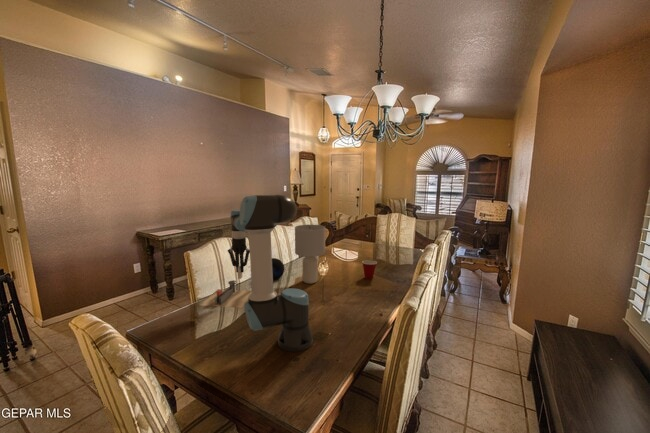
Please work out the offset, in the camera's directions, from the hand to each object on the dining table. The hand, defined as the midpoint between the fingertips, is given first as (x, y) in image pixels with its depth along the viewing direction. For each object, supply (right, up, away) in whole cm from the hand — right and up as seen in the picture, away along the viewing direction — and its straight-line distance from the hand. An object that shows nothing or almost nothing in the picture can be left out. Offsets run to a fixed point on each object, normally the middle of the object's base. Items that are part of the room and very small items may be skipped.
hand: (240, 277), depth 161 cm
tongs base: (-10, -13, +4) cm, 16 cm away
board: (-7, -14, +4) cm, 16 cm away
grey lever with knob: (-9, -12, +4) cm, 16 cm away
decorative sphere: (+12, -9, +37) cm, 40 cm away
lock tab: (-11, -9, -2) cm, 15 cm away
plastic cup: (+80, -9, +42) cm, 91 cm away
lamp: (+38, -10, +33) cm, 52 cm away
